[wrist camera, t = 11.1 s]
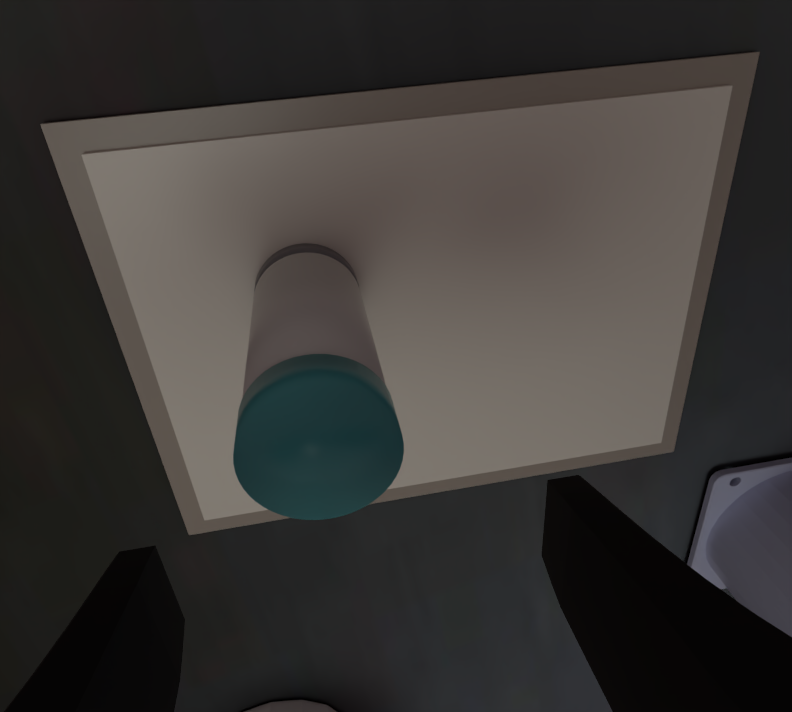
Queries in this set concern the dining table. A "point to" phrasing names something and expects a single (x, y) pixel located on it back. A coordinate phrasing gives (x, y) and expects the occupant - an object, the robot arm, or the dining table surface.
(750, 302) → the dining table surface
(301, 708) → the white cup
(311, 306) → the marker
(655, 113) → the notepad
